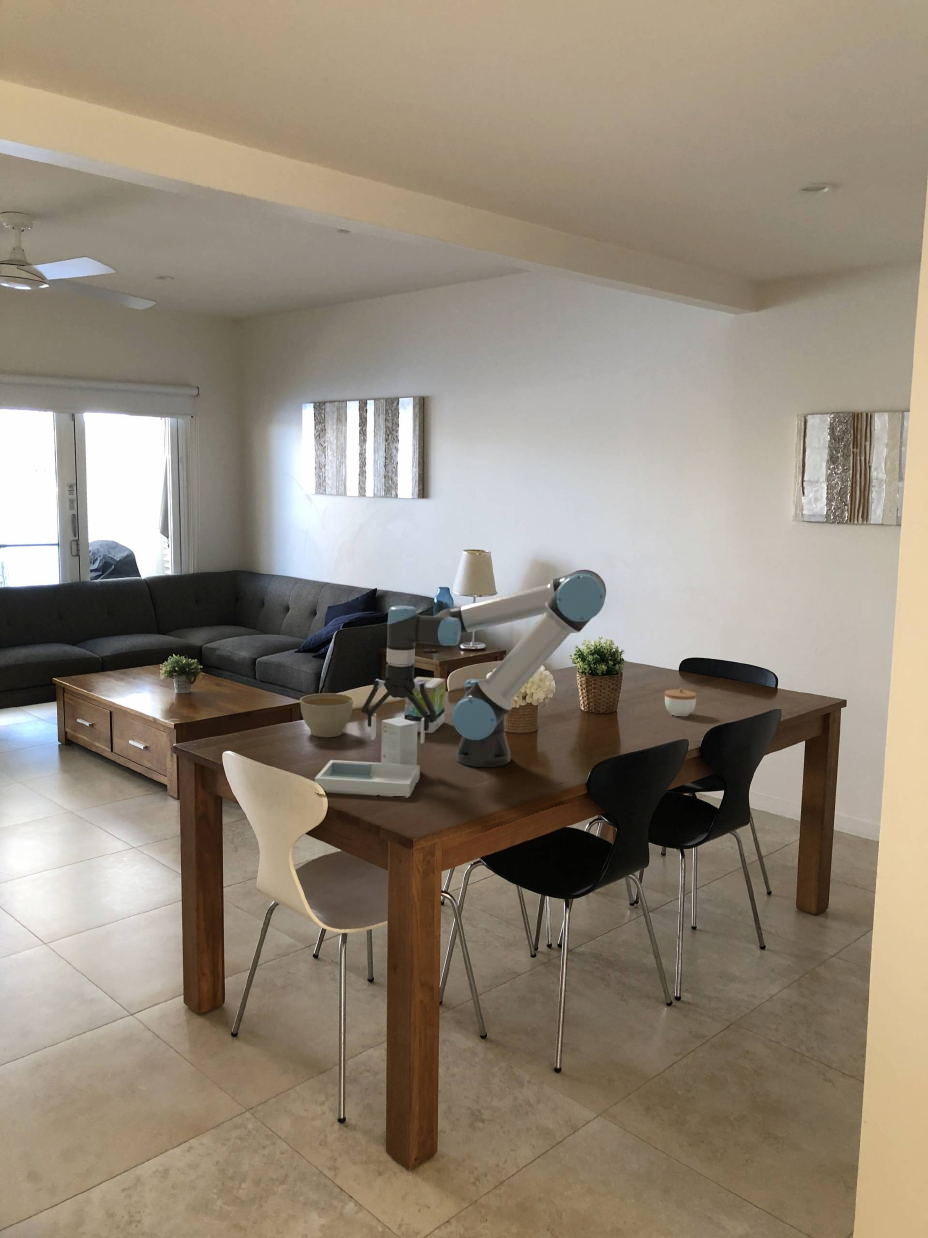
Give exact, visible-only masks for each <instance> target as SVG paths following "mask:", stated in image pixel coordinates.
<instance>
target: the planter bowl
mask: <svg viewBox="0 0 928 1238" xmlns="http://www.w3.org/2000/svg"><path fill="white" fill-rule="evenodd" d="M299 704H300V711H301V712H300V713H301V716H302V719H303V721H304V723H305V725H306V726H307V728H309V730H310V734H311V735H312V736H315V737H318V738H319V737H320V738H334V737H338V736H341V735H342V734H343V731H344V729H345V727H346V726H347V724H348V723H349V721H350V718H351V716H352V711H353V704H354V698H353V697H352V696H350V695H347V694H342V693H331V692H329V693H313V694H308V695H305V696H302V697H300V699H299Z"/></svg>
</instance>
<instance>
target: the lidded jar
mask: <svg viewBox="0 0 928 1238" xmlns="http://www.w3.org/2000/svg"><path fill="white" fill-rule="evenodd" d="M697 697H698V693H696V692H694V691H692V690H687V689H683V687H679V689H668V690H666V691H664V704H665V708H666V710H667V711H668V713H669V715H670V716H672V715H674V716H673V717H676V716H687V715H689V716H690V715H691V714H692V713H693V711H694V710H695V708H696V706H697V705H696V704H697Z"/></svg>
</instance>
